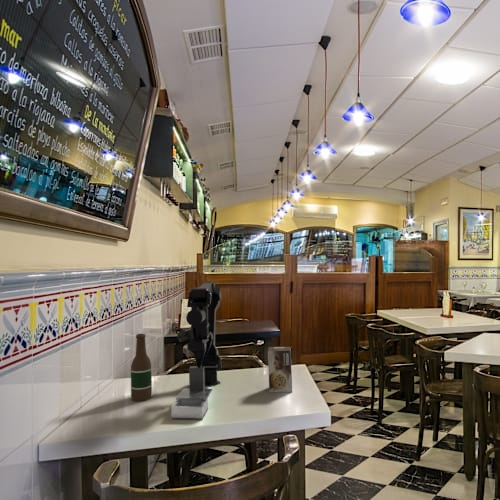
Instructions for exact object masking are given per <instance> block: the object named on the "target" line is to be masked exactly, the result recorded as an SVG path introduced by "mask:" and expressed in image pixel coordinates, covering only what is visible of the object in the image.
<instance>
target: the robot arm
mask: <svg viewBox="0 0 500 500" xmlns="http://www.w3.org/2000/svg"><path fill="white" fill-rule="evenodd" d="M221 301H222V291H221V288H219V286H217V285H216V283H215V281H203V282H202V284H200V286H199V287H192V288H191V289H190V291H188V297H187V305H186V307H187V308H191V309H190V310H189V311H188V312H187V314H186V316H185V317H186V318H185V319H186V322H187V324H188V325H190V328H188V329H185V330H184V329H181V330H180V331H178V333H177V334H176V336H177V340H179V342H180V343H183V342H184V341H187V340H189V339H190V341H188V343H187V345H186V346H187V347H186V349H187V350H188V351H189V352H191V353H192V354H193V357H194V359H195V363H196V366H197V367H200V366H204V378H205V387H209V386H214V385H219V384H221V381H220V380H218V370H221V369H222V368H223V367H222V366H223V365H222V358H221V356H220V354H219V350H218V348H217V346H216V322H217V321H216V320H217V310H218V309H219V308H220V306H221Z"/></svg>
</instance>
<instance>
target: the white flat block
mask: <svg viewBox="0 0 500 500" xmlns="http://www.w3.org/2000/svg"><path fill="white" fill-rule="evenodd" d="M208 410H209V398H208V399H207V400H175V402H174V404H173V405H171V420H173V421H174V420H176V421H179V420H181V421H188V420H189V421H203V419H204V418H205V416H206V414H207V412H208Z"/></svg>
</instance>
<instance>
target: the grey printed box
mask: <svg viewBox="0 0 500 500" xmlns="http://www.w3.org/2000/svg"><path fill="white" fill-rule="evenodd" d="M291 349H292V348H291V346H269V347H268V349H267V361H268V363H267V364H268V365H267V366H268V367H267V368H268V392H269V393H293V374H292V373H293V372H292V370H293V369H292V350H291Z"/></svg>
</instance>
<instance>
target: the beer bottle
mask: <svg viewBox="0 0 500 500" xmlns="http://www.w3.org/2000/svg"><path fill="white" fill-rule="evenodd" d="M146 336H147V335H146V334H145V333H138V334H136V336H135V339H136V343H135V344H136V345H135V347H136V348H135V350H136V351H135V356H134V358H133V359H132V362H131V365H130V395H131V397H130V398H131V401H134V402H139V403H140V402H145V401H148V400H150V399H151V398H152V390H153V389H152V388H153V387H152V362H151V358H150V356H148V355H147V348H146V347H147V346H146V345H147V344H146Z"/></svg>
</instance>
